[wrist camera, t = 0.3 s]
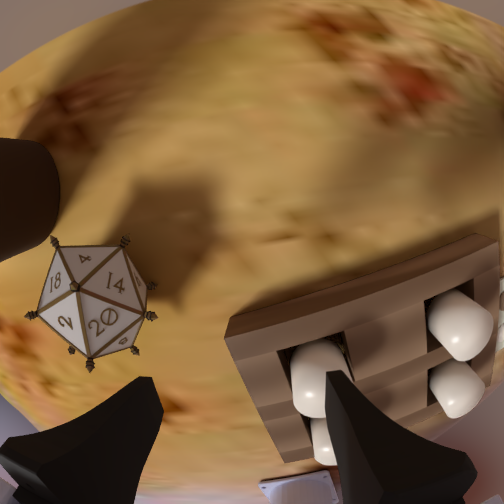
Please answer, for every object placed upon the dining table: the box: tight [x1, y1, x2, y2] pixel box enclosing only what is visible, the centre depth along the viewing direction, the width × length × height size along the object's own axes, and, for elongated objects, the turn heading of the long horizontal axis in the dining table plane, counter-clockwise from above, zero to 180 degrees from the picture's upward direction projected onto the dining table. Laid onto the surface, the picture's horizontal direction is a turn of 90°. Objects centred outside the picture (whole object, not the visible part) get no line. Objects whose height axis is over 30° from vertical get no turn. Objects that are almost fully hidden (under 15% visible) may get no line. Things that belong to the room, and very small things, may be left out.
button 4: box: [426, 289, 493, 361], centre depth 16 cm, size 4×4×4 cm
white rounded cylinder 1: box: [310, 417, 337, 465], centre depth 18 cm, size 4×4×4 cm
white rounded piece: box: [290, 338, 353, 418], centre depth 17 cm, size 4×4×4 cm
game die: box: [24, 234, 158, 373], centre depth 17 cm, size 9×8×10 cm
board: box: [224, 233, 500, 463], centre depth 19 cm, size 14×20×3 cm
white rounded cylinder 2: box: [428, 357, 485, 418], centre depth 17 cm, size 4×4×4 cm
